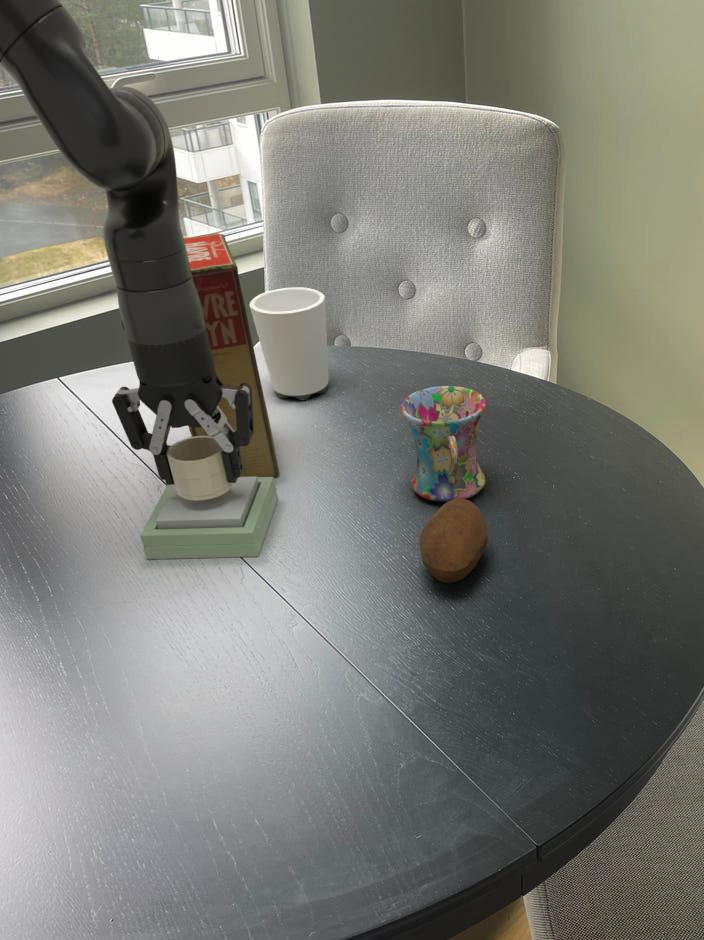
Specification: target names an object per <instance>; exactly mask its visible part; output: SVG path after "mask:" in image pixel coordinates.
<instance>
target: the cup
mask: <svg viewBox="0 0 704 940" xmlns="http://www.w3.org/2000/svg"><path fill="white" fill-rule="evenodd" d="M249 309H250V312H251V316H252V320H253V323H254V326H255V330H256V333H257V336H258V340H259V343H260V347H261V351H262V354H263V358H264V361H265V364H266V368H267V372H268V375H269V378H270V381H271V385H272V388H273V390H274V391H275V393H276V394H277V396H278V397H279V398H280V399H288V398H290V397H293V398H296V399H298V401H306V400H308V399H309V398H310V397H311V396H313V395H314V394H318V395H320V394H325V392H327V389H328V385H329V381H330V380H329V359H328V337H327V334H328V333H327V315H326V314H327V313H326V310H327V309H326V296H325V294H324V293H323V292H321V291H319V290H317V289H314V288H309V287H303V286H302V287H301V286H300V287H299V286H297V287H296V286H295V287H282V288H276V289H272V290H267V291H264V292H262V293H259V294H258V295H257V296H254V298H252V300H250V302H249Z"/></svg>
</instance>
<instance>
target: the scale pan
mask: <svg viewBox="0 0 704 940" xmlns="http://www.w3.org/2000/svg"><path fill="white" fill-rule="evenodd" d="M258 488H259V485H258V480H257V477H240V478H238V479H237V481H236V483H233V485H232V487H231V488H230V490H229V491H227V492H226V493H224V494H223V495H220V496H218V497H215V498H212V499H207V500H187V499H184V498H182V497H180V496H179V495H178V494H177V491H176V487H175V485H174V487H173V489H172V491H171V493H170V495H169V497H168V498H167V500H166V502H165V504H164V506H163V508H162V510H161V512H160V514H159V516H158V518H157V519H156V523H157V527H158V529H192V528H231V527H244V524H245V522H246V519H247V516H248V514H249V511H250V509H251V506H252V503H253V501H254V498H255V496H256V493H257V490H258Z"/></svg>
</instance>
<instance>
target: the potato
mask: <svg viewBox="0 0 704 940" xmlns="http://www.w3.org/2000/svg"><path fill="white" fill-rule="evenodd" d="M487 543H488V527H487V522H486V520H485V517H484V515H483V513H482V511H481V509H480V508H479V507H478V506H477V505H476V504H475V503H473V502H472V501H471V500H469V499H463V498H462V499H453V500H451V501H448V502H444V504H443V505H442V506H441V507H440V508H438V510H436V511H435V512H434V513H433V514H432V515H431V517H430V518H429V520H428V521H427V523H426V524H425V525H424V527H423V528H422V530H421V532H420V536H419V550H420V554H421V559H422V563H423V565H424V567H425V568H426V570H427V571H428V572H429V573H430V575H431V576H433V577H434V578H435V579H437V580H438V581H440V582H441V583H442V582H443V583H446V584H449V583H455V582H459V581H461V580H463V579H464V578H466V577H467V576H468V575H469V574H470V573H471V572H472V570H473V569H474V568H475V566H476V565H477V564H478V563H479V561H480V559H481V558H482V555H483V554H484V551H485V548H486V547H487Z"/></svg>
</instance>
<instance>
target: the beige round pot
mask: <svg viewBox="0 0 704 940" xmlns="http://www.w3.org/2000/svg"><path fill="white" fill-rule="evenodd" d="M222 452H223V449H222V448H221V447H220V445H219V444H218V443H217V442H216V440H215V439H214V438H213V437H210V436H195V437H192V436H191V437H186V438H183V439H181V440H178V441H175V442H174V443H173V444H171V445H170V447H169V448H168V450H167V452H166V454H167V458H168V462H169V465H170V469H171V473H172V477H173V480H174V484H175V487H176V491H177V494H178V495H179V496H180V497H182V498H184V499H187V500H207V499H212V498H215V497H218V496H220V495H223V494H224V493H226V492H227V491H229V490H230V488H231V487H232V485H233V483H229V482H228V479H227V474H226V470H225V466H224V461H223V457H222Z"/></svg>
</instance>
